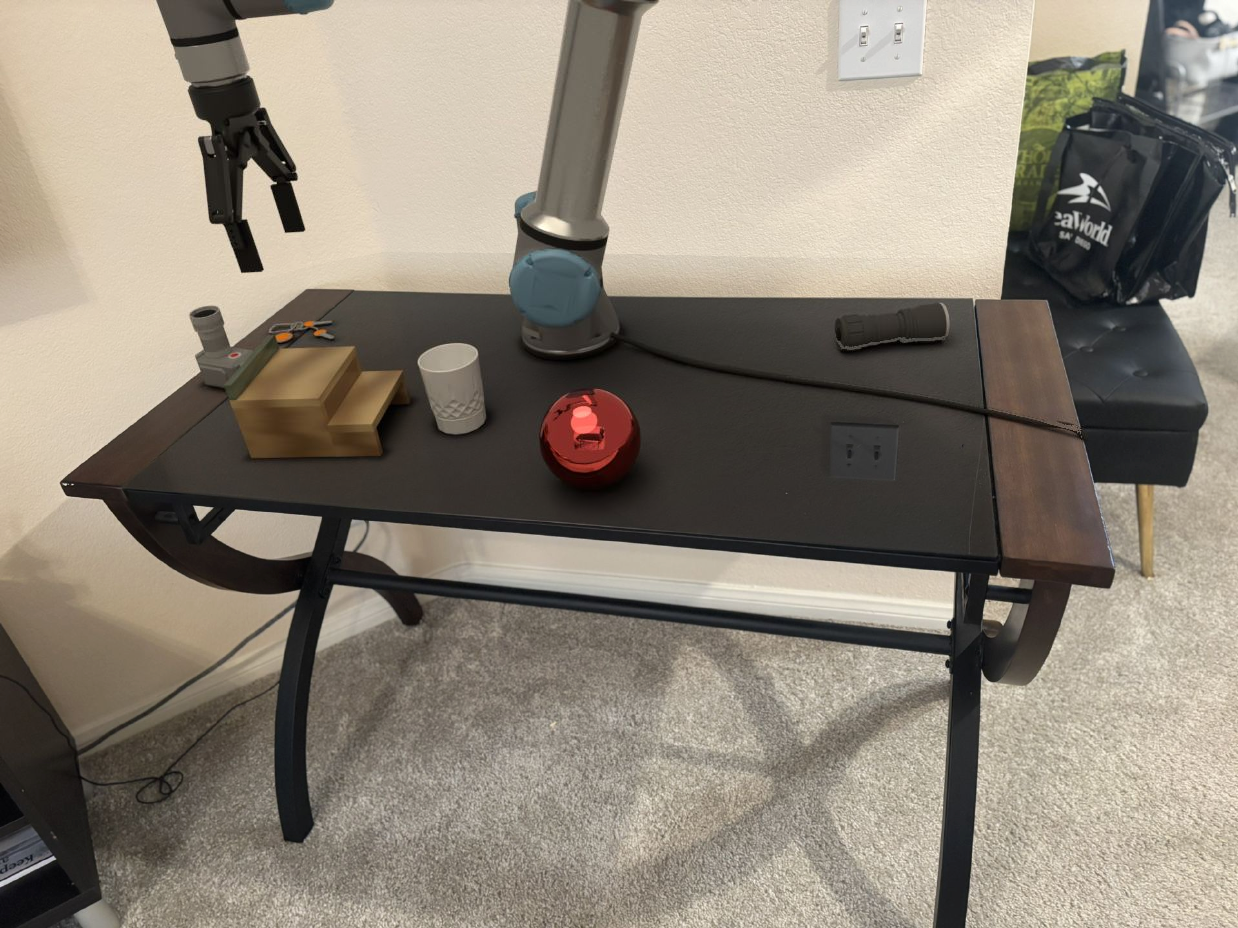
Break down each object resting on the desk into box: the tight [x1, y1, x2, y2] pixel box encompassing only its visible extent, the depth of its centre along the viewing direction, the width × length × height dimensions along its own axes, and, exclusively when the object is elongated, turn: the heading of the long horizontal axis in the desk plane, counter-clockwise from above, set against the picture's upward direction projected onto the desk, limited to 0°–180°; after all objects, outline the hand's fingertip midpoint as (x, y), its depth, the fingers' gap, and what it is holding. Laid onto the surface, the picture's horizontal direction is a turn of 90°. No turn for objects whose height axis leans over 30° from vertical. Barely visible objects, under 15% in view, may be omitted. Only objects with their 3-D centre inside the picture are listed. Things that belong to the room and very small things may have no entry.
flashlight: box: [834, 302, 951, 352], centre depth 130 cm, size 15×5×5 cm, turn 94°
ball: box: [538, 387, 642, 491], centre depth 107 cm, size 12×12×12 cm
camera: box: [188, 305, 255, 389], centre depth 135 cm, size 9×12×15 cm
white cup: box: [417, 342, 487, 435], centre depth 121 cm, size 8×8×10 cm
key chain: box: [268, 320, 335, 344], centre depth 151 cm, size 13×7×1 cm, turn 84°
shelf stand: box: [223, 334, 411, 459], centre depth 122 cm, size 18×14×11 cm
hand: (275, 250), depth 119 cm, fingers open, 13 cm apart
